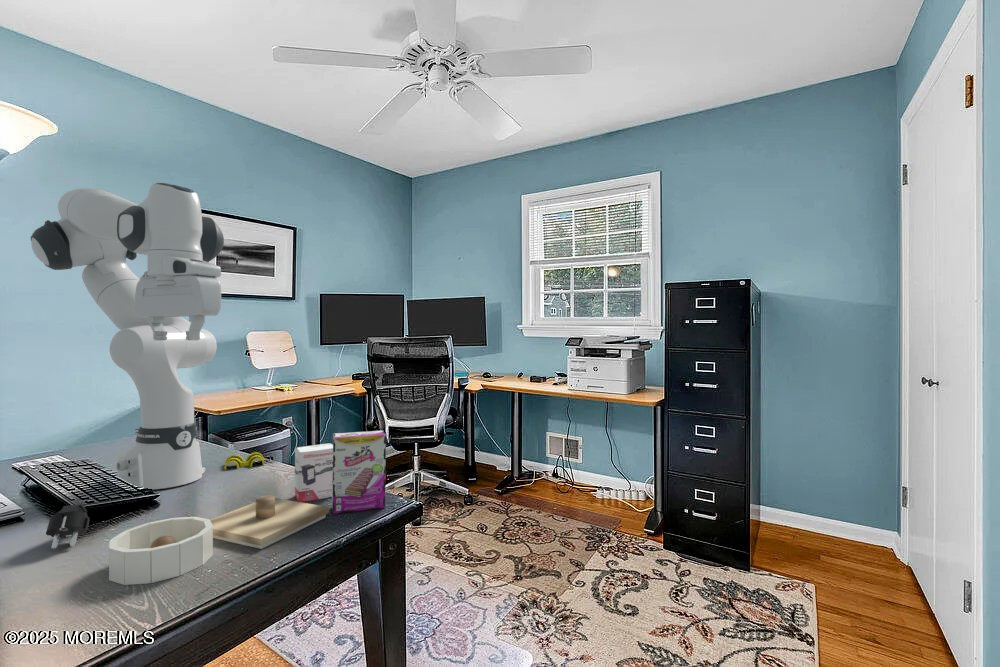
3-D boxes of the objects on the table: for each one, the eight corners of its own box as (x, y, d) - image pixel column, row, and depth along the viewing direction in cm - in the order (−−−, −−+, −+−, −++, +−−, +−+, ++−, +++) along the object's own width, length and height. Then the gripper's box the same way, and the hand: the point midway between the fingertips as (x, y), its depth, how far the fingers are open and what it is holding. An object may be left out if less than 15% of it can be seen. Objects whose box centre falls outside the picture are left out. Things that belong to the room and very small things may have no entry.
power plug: (106, 520, 98) (88, 497, 89) (97, 559, 93) (78, 539, 85) (70, 525, 95) (48, 502, 87) (60, 565, 91) (36, 545, 82)
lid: (195, 531, 92) (195, 506, 92) (268, 502, 108) (268, 481, 108) (261, 545, 86) (261, 519, 86) (329, 512, 101) (329, 490, 101)
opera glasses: (224, 477, 130) (224, 459, 130) (225, 472, 135) (225, 454, 135) (264, 472, 134) (264, 454, 134) (263, 468, 139) (263, 450, 139)
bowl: (89, 574, 77) (89, 542, 77) (176, 539, 90) (176, 512, 90) (145, 591, 72) (145, 558, 72) (230, 552, 85) (230, 523, 85)
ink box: (299, 504, 109) (298, 451, 109) (294, 497, 113) (294, 447, 113) (337, 496, 114) (337, 446, 114) (332, 491, 118) (331, 442, 118)
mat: (199, 535, 92) (199, 530, 92) (268, 507, 107) (268, 503, 107) (261, 548, 86) (261, 544, 86) (325, 517, 101) (325, 513, 101)
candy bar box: (332, 515, 102) (332, 437, 102) (332, 507, 107) (331, 433, 107) (386, 508, 106) (386, 433, 106) (384, 501, 111) (383, 429, 111)
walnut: (144, 560, 80) (144, 538, 80) (167, 551, 83) (166, 530, 83) (159, 564, 79) (159, 542, 79) (181, 555, 82) (180, 533, 82)
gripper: (124, 269, 94) (124, 340, 94) (195, 263, 87) (196, 340, 87) (157, 273, 100) (157, 340, 100) (227, 267, 92) (228, 340, 92)
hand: (176, 340), depth 93 cm, fingers open, 8 cm apart
